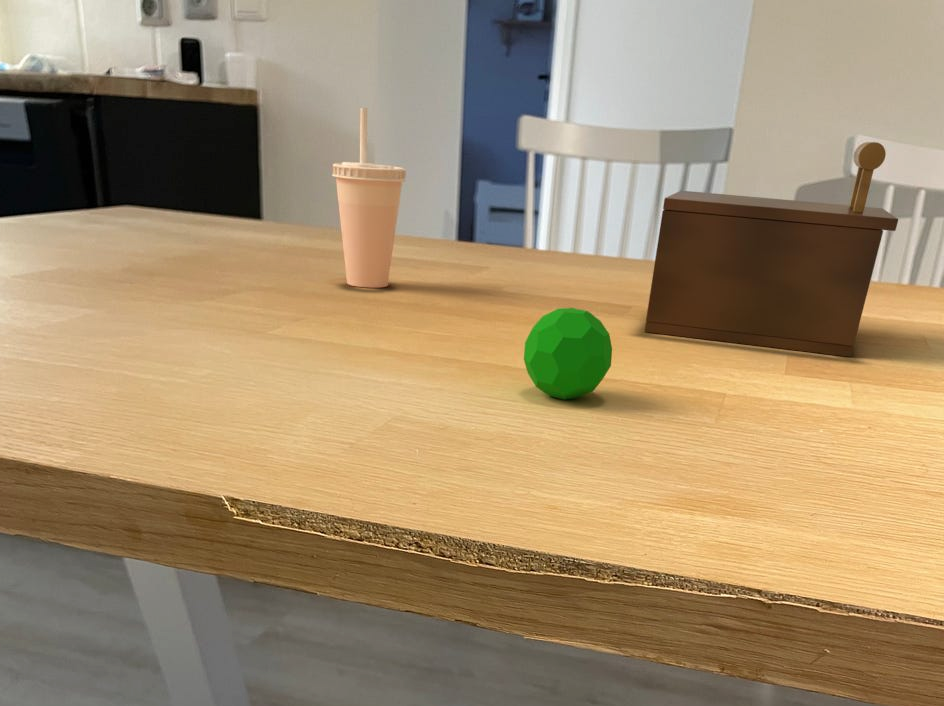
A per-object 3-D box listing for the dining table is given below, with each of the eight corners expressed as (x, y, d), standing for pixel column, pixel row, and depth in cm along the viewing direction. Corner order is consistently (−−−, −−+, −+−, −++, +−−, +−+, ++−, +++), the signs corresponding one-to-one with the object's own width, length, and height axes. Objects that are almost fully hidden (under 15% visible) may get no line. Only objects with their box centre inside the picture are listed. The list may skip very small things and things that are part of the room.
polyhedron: (535, 380, 58) (544, 299, 56) (614, 393, 57) (625, 310, 54) (509, 398, 54) (517, 311, 52) (593, 412, 53) (605, 323, 50)
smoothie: (341, 276, 90) (342, 106, 83) (408, 282, 89) (414, 112, 82) (323, 285, 84) (323, 104, 77) (394, 292, 83) (400, 110, 77)
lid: (880, 218, 78) (899, 144, 75) (895, 231, 67) (918, 145, 64) (678, 200, 81) (690, 129, 79) (662, 209, 70) (675, 127, 68)
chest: (842, 329, 82) (869, 218, 78) (850, 357, 71) (883, 230, 67) (661, 308, 85) (678, 201, 81) (644, 332, 75) (662, 210, 71)
